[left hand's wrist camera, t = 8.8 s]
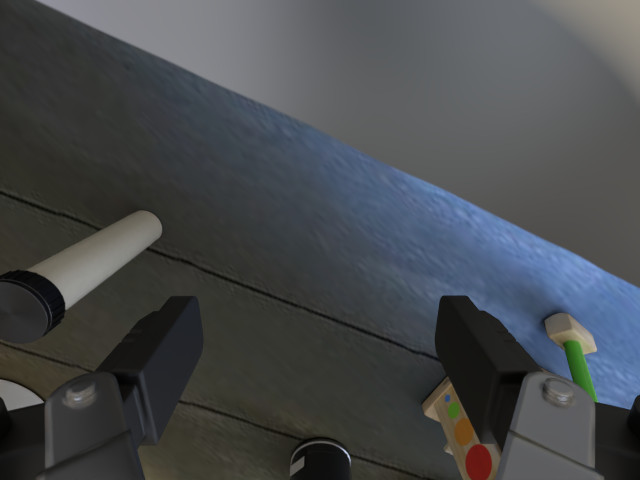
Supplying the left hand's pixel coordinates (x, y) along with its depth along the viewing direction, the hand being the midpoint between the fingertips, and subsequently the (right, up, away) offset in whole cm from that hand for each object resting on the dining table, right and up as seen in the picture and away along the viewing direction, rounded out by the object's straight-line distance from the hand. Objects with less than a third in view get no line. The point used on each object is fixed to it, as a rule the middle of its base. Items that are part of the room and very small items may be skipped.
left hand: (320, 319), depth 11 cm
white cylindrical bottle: (-21, +4, +30) cm, 37 cm away
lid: (-21, -2, +12) cm, 24 cm away
